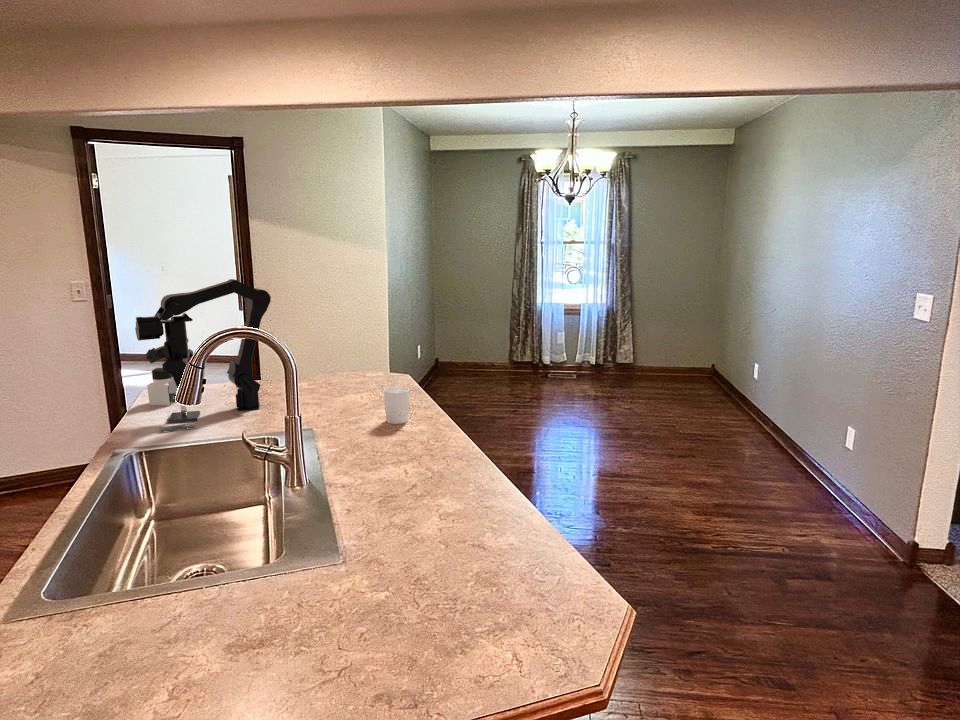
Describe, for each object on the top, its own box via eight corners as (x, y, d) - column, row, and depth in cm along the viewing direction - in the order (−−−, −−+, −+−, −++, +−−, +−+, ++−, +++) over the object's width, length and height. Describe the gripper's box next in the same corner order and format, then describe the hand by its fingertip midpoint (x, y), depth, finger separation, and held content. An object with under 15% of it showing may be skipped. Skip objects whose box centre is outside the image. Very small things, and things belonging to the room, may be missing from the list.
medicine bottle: (170, 406, 200) (166, 370, 197) (149, 405, 200) (145, 370, 197) (181, 400, 207) (177, 365, 204) (160, 399, 207) (157, 365, 204)
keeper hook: (200, 413, 192) (198, 398, 191) (197, 421, 184) (195, 405, 183) (172, 415, 189) (170, 400, 188) (168, 423, 182) (166, 407, 181)
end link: (193, 387, 188) (192, 375, 188) (191, 391, 183) (190, 380, 182) (172, 388, 187) (171, 377, 186) (169, 393, 181) (168, 382, 180)
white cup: (412, 417, 189) (411, 386, 187) (407, 425, 182) (406, 393, 180) (387, 416, 190) (387, 385, 188) (381, 424, 182) (380, 392, 180)
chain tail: (194, 426, 179) (194, 422, 179) (194, 428, 178) (194, 424, 177) (160, 430, 176) (160, 426, 175) (160, 432, 174) (160, 428, 173)
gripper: (152, 333, 187) (157, 381, 191) (139, 344, 170) (146, 397, 173) (191, 331, 191) (196, 379, 194) (183, 341, 173) (188, 394, 177)
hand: (181, 387), depth 185 cm, fingers closed on end link, 6 cm apart
